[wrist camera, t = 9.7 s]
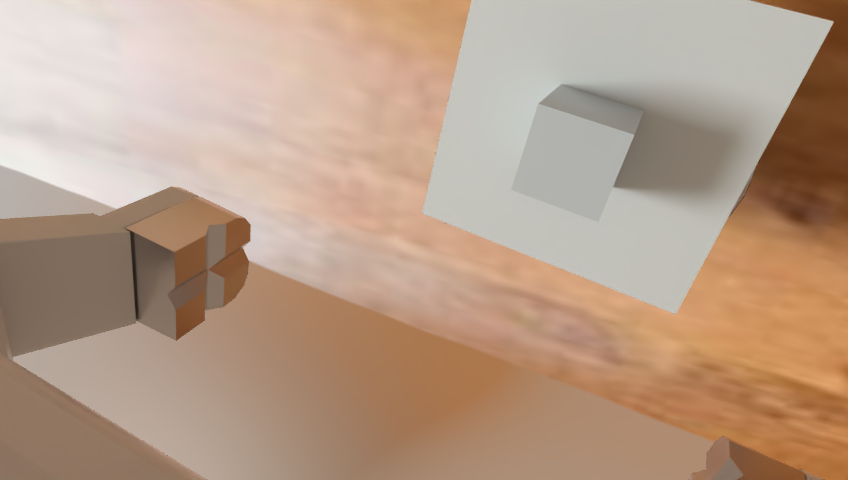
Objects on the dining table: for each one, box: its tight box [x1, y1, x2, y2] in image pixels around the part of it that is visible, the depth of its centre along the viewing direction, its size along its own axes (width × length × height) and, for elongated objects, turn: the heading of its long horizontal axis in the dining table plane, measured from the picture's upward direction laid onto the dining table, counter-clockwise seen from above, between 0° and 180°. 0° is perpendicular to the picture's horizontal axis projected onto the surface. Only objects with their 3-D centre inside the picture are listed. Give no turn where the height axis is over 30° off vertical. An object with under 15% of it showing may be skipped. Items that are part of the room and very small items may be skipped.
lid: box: [422, 0, 834, 314], centre depth 20 cm, size 11×11×4 cm
